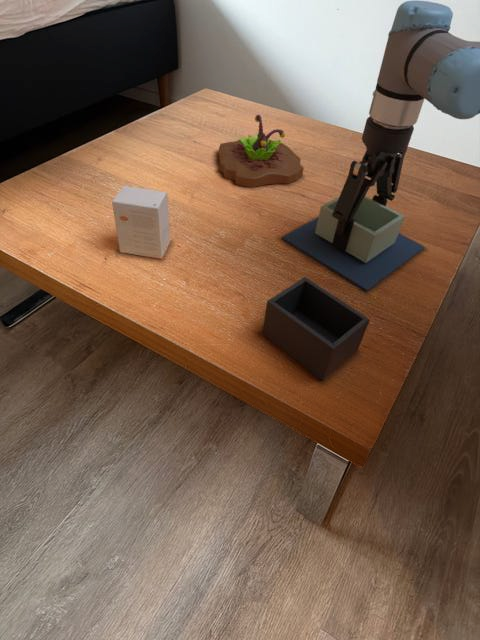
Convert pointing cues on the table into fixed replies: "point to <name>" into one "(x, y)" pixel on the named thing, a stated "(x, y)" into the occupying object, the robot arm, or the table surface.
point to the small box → (142, 221)
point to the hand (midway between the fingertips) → (355, 237)
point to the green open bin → (363, 228)
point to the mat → (349, 264)
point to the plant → (259, 160)
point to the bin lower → (314, 327)
